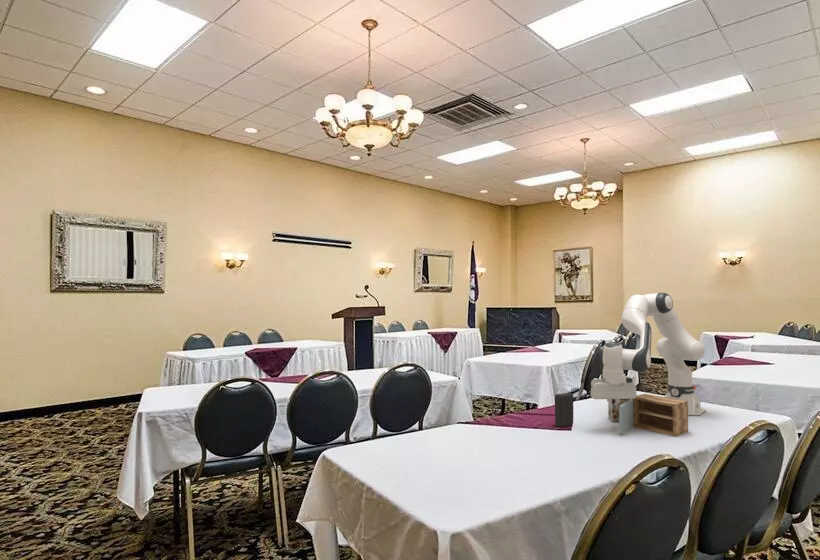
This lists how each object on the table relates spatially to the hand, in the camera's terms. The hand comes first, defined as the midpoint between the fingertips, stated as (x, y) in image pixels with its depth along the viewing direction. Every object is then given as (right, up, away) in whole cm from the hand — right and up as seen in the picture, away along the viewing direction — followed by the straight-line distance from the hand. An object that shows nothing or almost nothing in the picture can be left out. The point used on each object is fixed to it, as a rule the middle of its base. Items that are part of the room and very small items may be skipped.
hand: (613, 408), depth 224 cm
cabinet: (+22, -10, +2) cm, 25 cm away
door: (+6, -9, -1) cm, 11 cm away
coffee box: (+10, -11, +17) cm, 23 cm away
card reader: (-20, -11, +9) cm, 24 cm away
